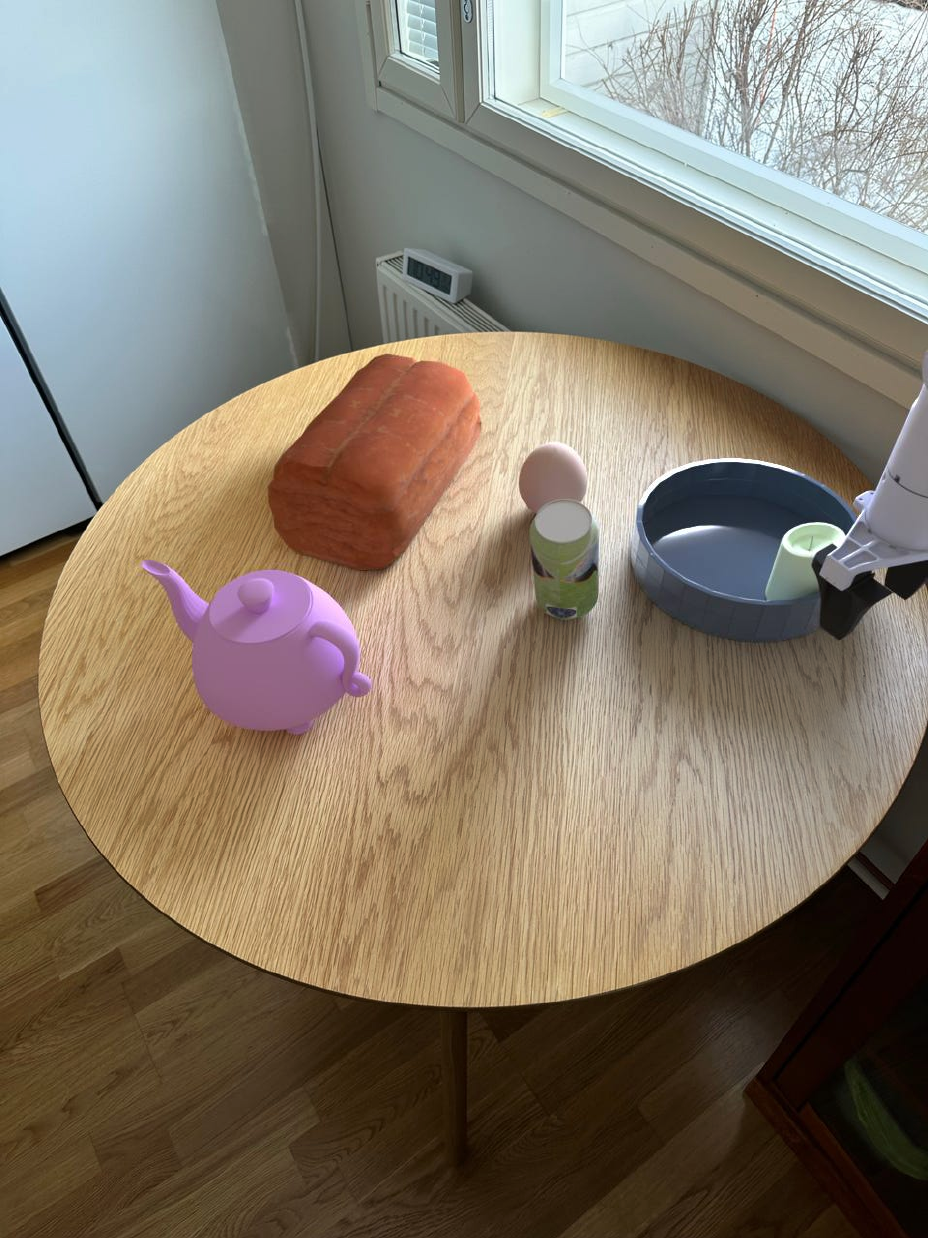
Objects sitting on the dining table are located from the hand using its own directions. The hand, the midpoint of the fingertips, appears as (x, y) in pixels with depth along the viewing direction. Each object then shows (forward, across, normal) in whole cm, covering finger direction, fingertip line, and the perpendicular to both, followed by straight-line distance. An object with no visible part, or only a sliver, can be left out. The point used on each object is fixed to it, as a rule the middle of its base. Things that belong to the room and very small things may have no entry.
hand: (865, 611), depth 65 cm
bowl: (+10, -4, -16) cm, 19 cm away
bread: (+10, +19, -47) cm, 51 cm away
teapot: (+10, +40, -28) cm, 50 cm away
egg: (+10, +6, -33) cm, 35 cm away
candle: (+9, -5, -9) cm, 13 cm away
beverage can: (+10, +14, -21) cm, 27 cm away
